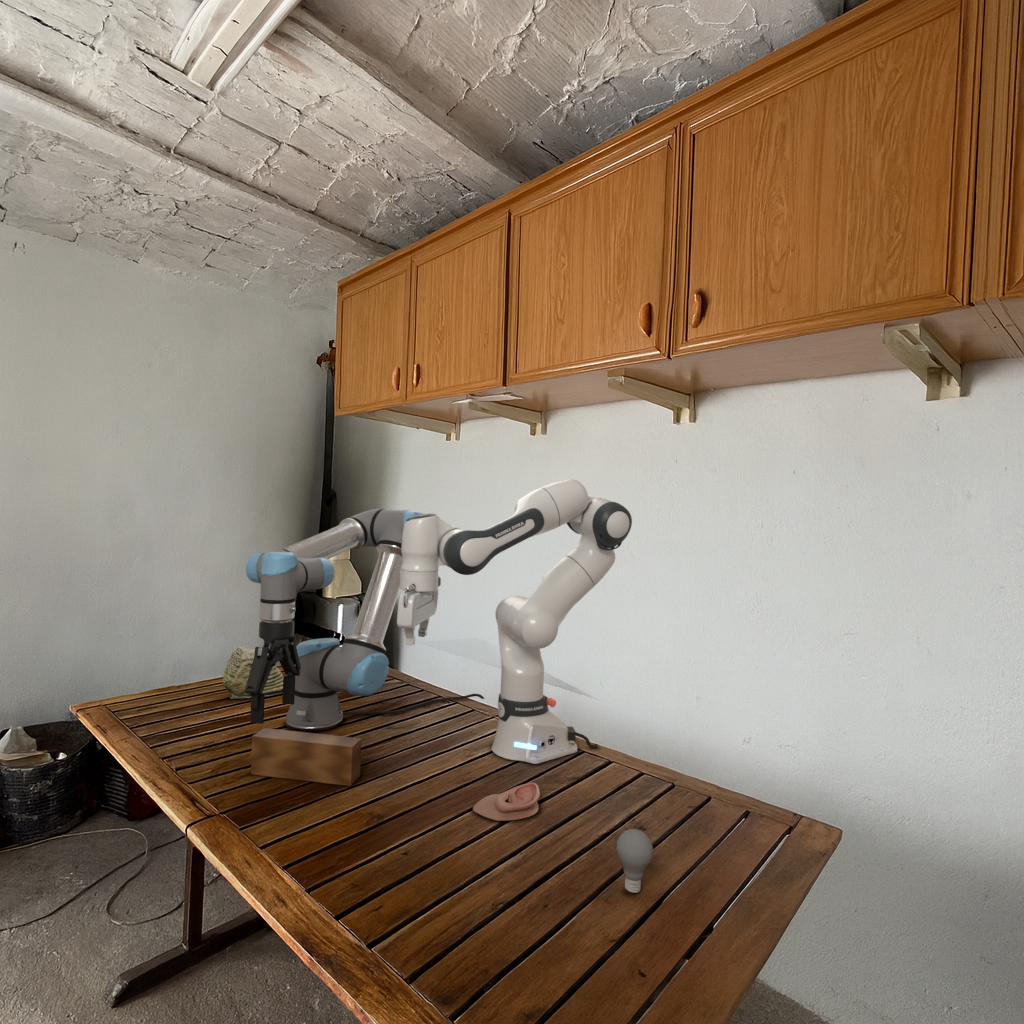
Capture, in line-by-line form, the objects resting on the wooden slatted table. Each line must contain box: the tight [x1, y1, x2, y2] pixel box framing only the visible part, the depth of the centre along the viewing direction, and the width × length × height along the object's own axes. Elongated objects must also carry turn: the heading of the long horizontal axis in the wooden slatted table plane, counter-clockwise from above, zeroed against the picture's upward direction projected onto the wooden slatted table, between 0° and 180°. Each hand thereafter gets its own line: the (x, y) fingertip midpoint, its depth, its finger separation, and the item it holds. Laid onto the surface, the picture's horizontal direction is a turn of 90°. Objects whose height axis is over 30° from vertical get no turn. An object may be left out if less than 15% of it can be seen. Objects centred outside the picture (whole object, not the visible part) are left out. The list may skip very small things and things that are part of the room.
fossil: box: [222, 646, 284, 699], centre depth 198 cm, size 9×18×15 cm, turn 132°
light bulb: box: [615, 828, 654, 894], centre depth 106 cm, size 6×6×10 cm
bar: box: [250, 727, 362, 787], centre depth 144 cm, size 24×5×9 cm, turn 81°
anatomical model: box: [472, 782, 541, 822], centre depth 132 cm, size 13×4×12 cm
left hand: (273, 712), depth 145 cm, fingers open, 13 cm apart
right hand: (416, 640), depth 150 cm, fingers open, 8 cm apart
